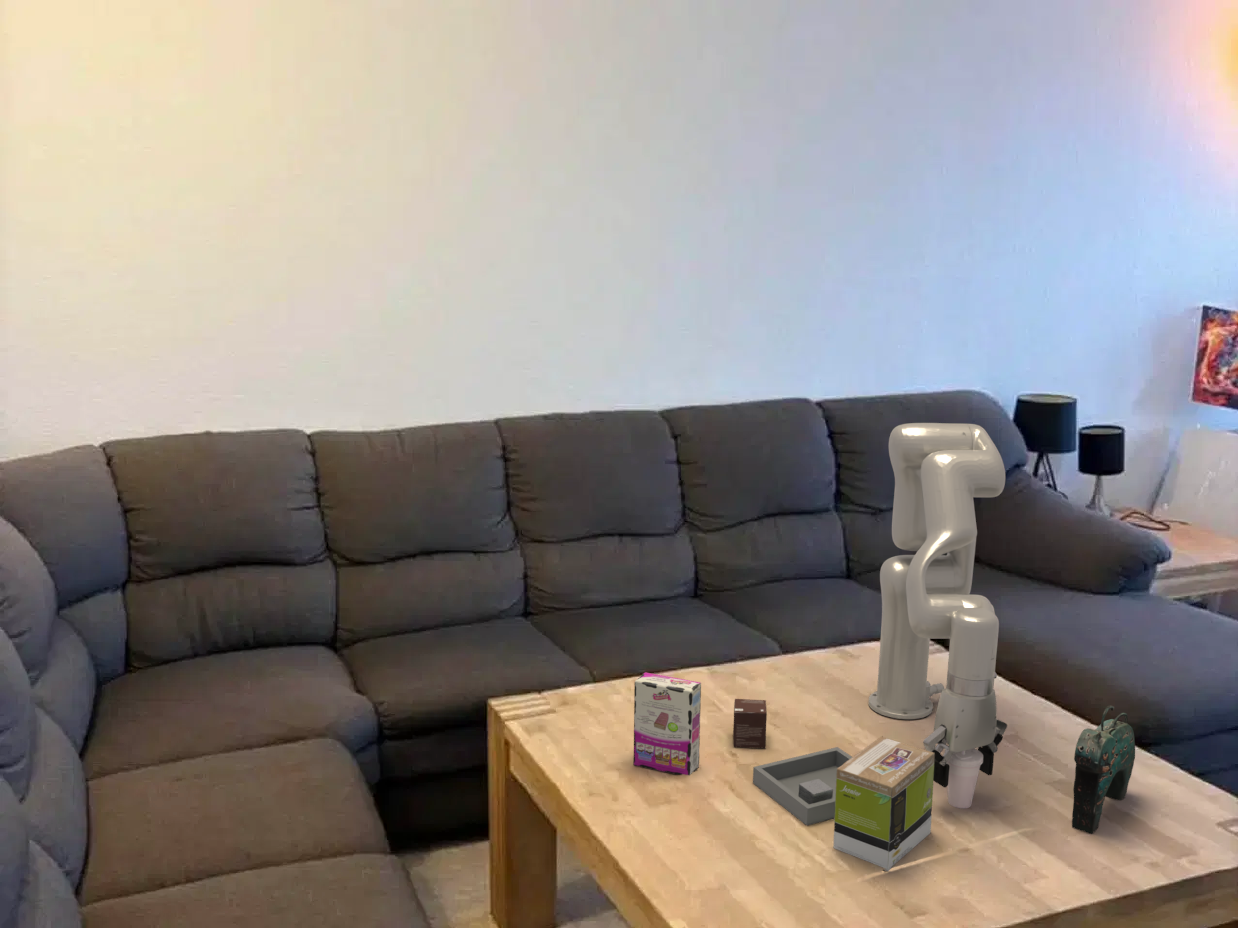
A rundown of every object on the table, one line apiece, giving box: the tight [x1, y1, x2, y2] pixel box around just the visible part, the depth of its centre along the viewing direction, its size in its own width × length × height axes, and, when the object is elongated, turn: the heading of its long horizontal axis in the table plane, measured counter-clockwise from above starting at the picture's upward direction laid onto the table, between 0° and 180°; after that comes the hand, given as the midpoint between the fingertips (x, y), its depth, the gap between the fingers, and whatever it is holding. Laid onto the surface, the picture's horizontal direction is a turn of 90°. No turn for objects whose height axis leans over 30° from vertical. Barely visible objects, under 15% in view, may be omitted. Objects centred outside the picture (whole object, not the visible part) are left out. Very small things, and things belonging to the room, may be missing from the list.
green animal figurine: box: [1071, 705, 1136, 835], centre depth 208 cm, size 20×6×20 cm, turn 139°
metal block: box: [798, 779, 833, 804], centre depth 208 cm, size 4×4×4 cm
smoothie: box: [944, 748, 983, 809], centre depth 210 cm, size 6×6×14 cm
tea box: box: [832, 735, 935, 872], centre depth 198 cm, size 15×10×15 cm, turn 141°
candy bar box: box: [632, 671, 702, 776], centre depth 222 cm, size 11×5×16 cm, turn 65°
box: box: [732, 698, 768, 750], centre depth 233 cm, size 6×6×7 cm
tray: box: [752, 746, 853, 826], centre depth 214 cm, size 18×16×4 cm
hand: (962, 777), depth 210 cm, fingers open, 9 cm apart
